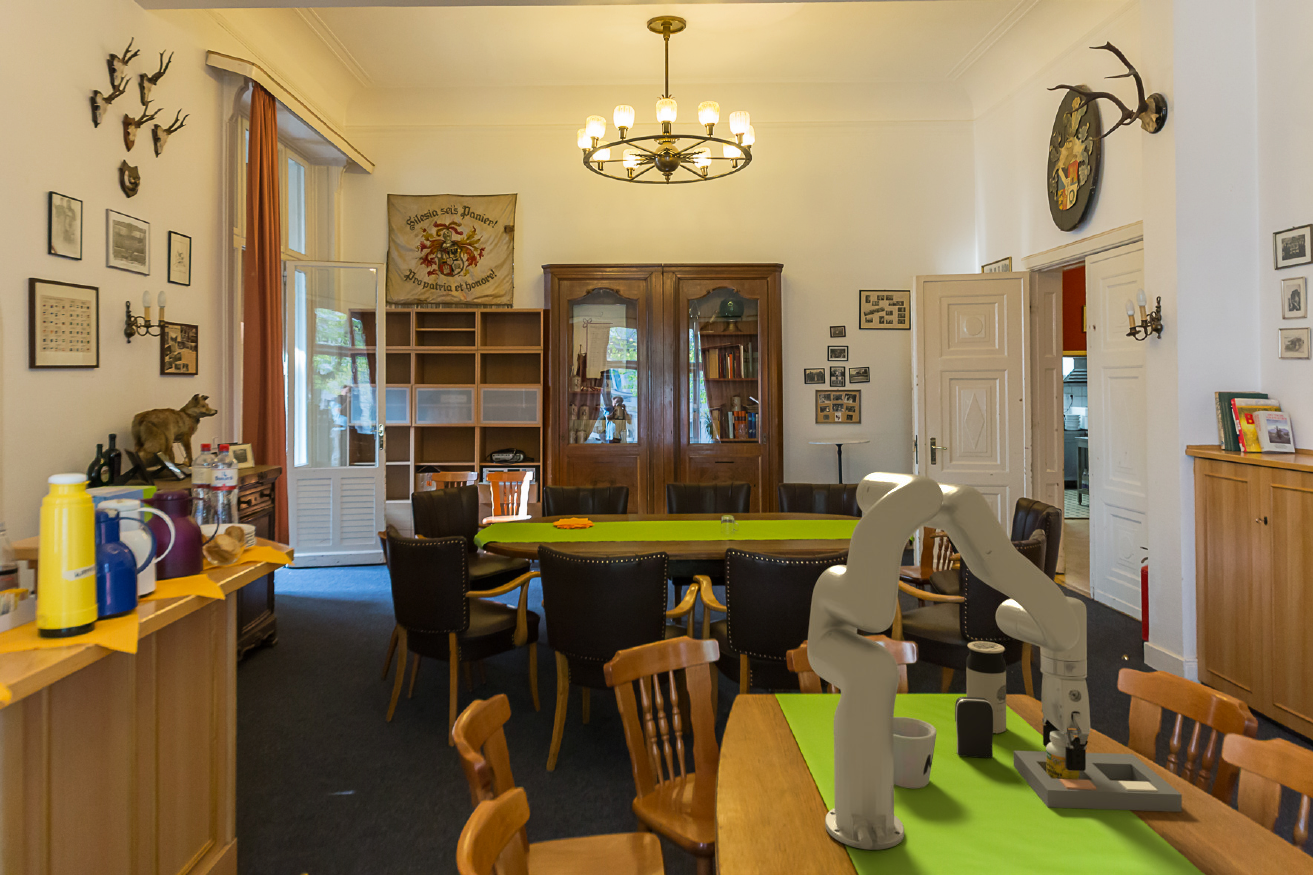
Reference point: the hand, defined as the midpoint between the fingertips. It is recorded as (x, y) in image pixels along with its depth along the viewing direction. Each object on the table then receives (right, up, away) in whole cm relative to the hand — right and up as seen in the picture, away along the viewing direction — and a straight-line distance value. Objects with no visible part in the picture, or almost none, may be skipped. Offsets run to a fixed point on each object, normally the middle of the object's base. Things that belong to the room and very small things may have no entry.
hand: (1063, 757), depth 140 cm
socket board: (+5, -5, 0) cm, 7 cm away
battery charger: (-11, -5, +14) cm, 19 cm away
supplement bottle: (0, -6, 0) cm, 6 cm away
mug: (-30, -6, +4) cm, 31 cm away
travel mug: (-2, -5, +27) cm, 28 cm away
